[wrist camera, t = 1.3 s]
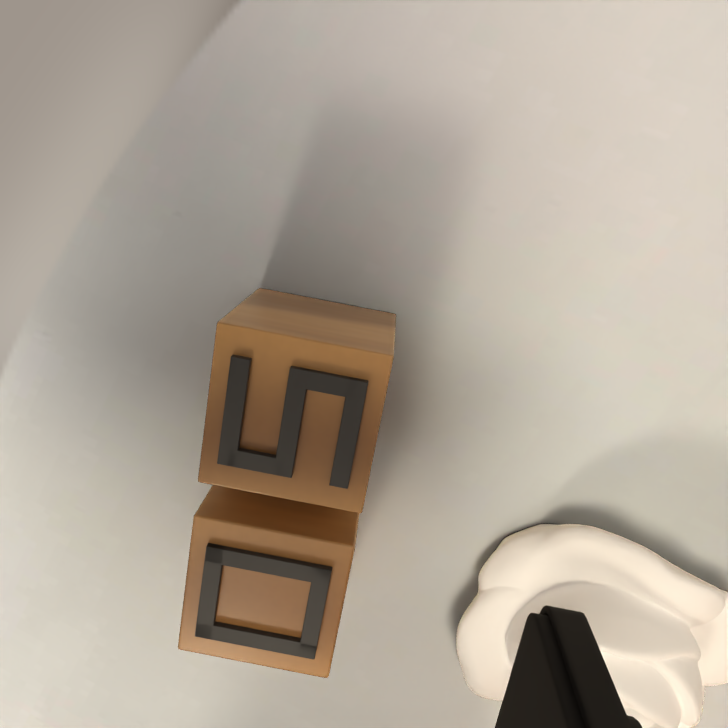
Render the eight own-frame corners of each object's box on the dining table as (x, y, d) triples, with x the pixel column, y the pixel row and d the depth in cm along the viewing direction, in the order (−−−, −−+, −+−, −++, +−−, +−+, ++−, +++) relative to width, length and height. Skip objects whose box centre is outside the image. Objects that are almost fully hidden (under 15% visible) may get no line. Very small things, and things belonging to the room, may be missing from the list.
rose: (796, 544, 18) (826, 817, 20) (721, 472, 22) (754, 705, 25) (434, 613, 19) (503, 862, 22) (428, 533, 24) (487, 749, 26)
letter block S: (258, 287, 21) (214, 323, 16) (396, 313, 21) (394, 358, 16) (241, 416, 23) (194, 485, 18) (370, 441, 23) (361, 518, 18)
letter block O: (237, 442, 23) (190, 518, 18) (365, 467, 23) (354, 550, 18) (221, 555, 24) (174, 654, 19) (343, 578, 24) (327, 684, 19)
